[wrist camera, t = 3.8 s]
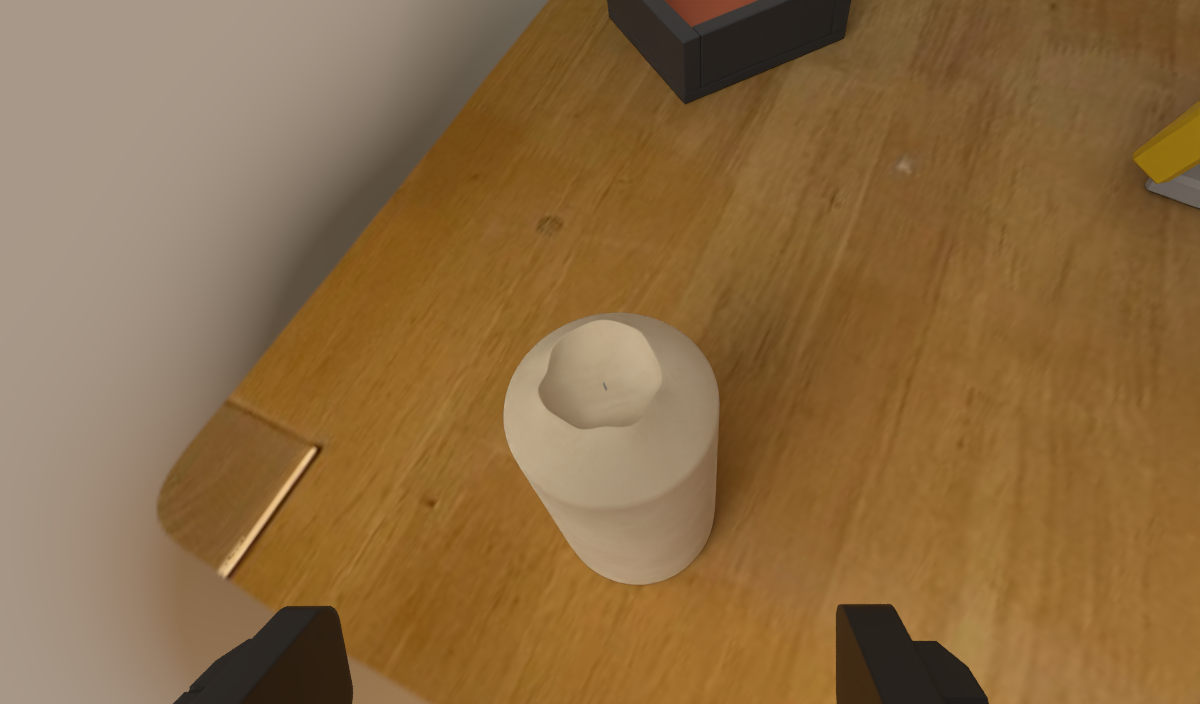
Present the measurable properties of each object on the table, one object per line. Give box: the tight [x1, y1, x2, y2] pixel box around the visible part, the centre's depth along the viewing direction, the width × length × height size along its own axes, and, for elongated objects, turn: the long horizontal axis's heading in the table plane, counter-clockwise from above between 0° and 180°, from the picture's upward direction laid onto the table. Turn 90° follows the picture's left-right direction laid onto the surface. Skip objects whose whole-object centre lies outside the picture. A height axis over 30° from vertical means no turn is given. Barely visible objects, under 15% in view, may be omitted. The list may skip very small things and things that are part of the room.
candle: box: [503, 313, 720, 585], centre depth 19 cm, size 6×6×10 cm
